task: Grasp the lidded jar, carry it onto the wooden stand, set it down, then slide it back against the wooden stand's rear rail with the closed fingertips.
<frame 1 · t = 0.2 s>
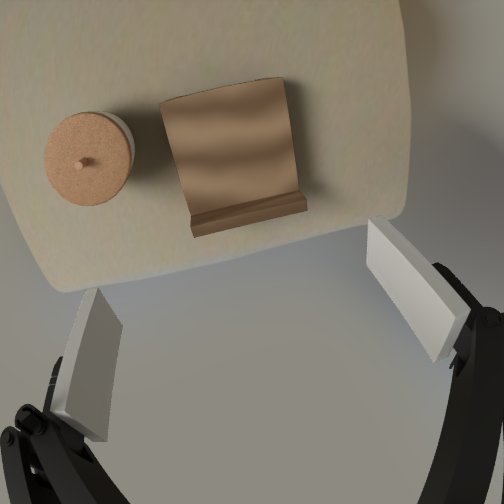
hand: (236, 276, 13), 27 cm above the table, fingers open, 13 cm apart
lidded jar: (104, 144, 33), on the table
wooden stand: (231, 145, 36), on the table
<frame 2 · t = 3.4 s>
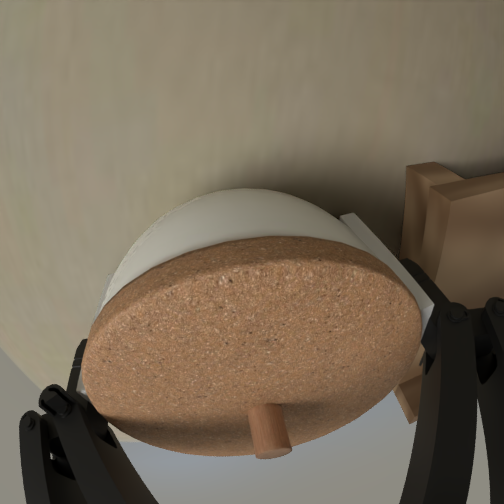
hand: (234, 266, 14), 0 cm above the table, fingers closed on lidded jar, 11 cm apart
lidded jar: (233, 258, 15), on the table, touching gripper
wooden stand: (462, 258, 18), on the table
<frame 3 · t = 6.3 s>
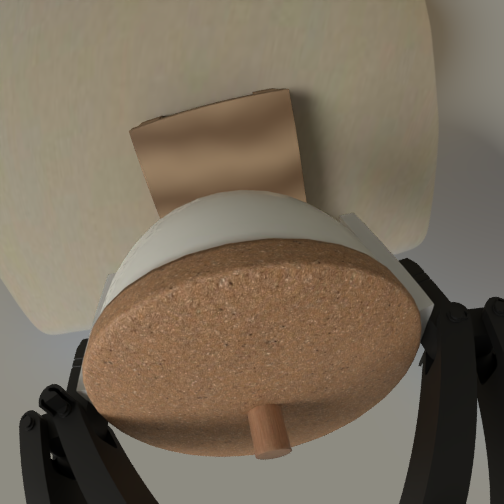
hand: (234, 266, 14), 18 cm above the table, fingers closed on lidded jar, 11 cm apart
lidded jar: (233, 259, 15), point 17 cm above the table, touching gripper
wooden stand: (225, 176, 30), on the table
when the fingers open (6 cm above the table, at t = 9.6 s): lidded jar drops 1 cm, resting on wooden stand.
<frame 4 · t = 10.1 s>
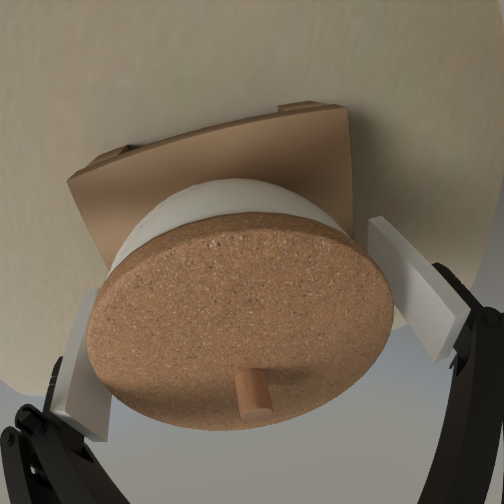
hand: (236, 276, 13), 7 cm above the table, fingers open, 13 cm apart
lidded jar: (225, 245, 16), point 4 cm above the table, touching wooden stand
wooden stand: (231, 238, 20), on the table
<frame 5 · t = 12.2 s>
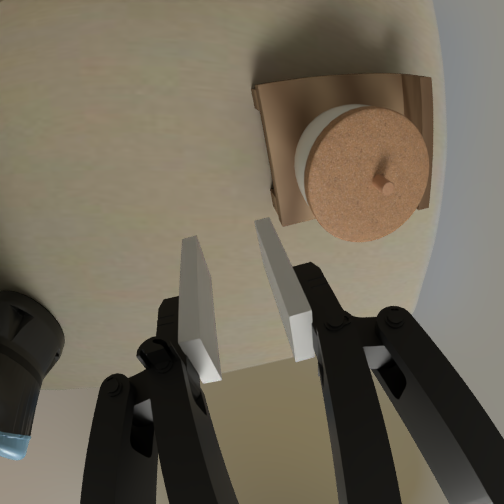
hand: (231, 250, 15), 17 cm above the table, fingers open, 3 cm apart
lidded jar: (333, 151, 26), point 4 cm above the table, touching wooden stand
wooden stand: (335, 137, 29), on the table
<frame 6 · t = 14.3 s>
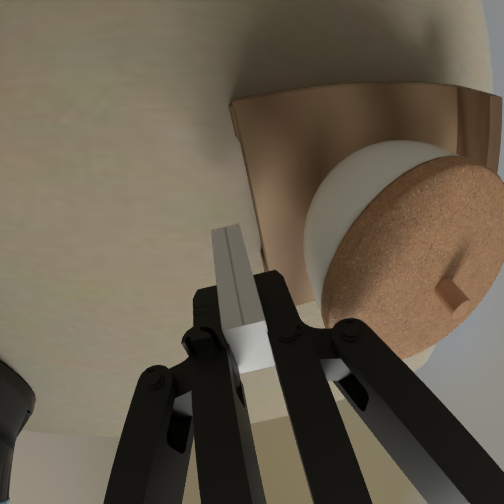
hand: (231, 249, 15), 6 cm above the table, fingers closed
lidded jar: (361, 203, 17), point 4 cm above the table, touching gripper
wooden stand: (355, 175, 20), on the table
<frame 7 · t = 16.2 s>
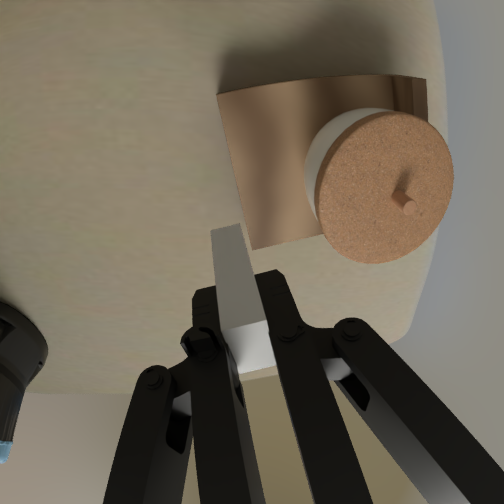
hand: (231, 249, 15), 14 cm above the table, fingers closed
lidded jar: (347, 158, 23), point 4 cm above the table, touching wooden stand
wooden stand: (315, 148, 26), on the table
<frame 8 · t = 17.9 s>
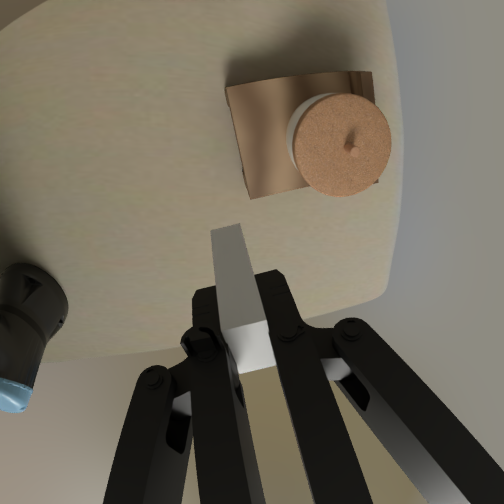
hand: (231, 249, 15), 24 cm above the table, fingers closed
lidded jar: (318, 131, 33), point 4 cm above the table, touching wooden stand
wooden stand: (295, 126, 36), on the table
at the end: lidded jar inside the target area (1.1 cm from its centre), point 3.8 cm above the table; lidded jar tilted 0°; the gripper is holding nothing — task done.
